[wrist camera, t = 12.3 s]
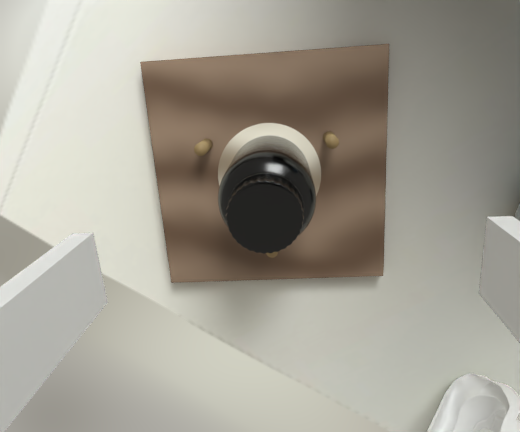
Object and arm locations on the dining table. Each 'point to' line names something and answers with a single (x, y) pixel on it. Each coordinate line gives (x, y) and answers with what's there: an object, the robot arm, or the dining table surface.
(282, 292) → the dining table surface
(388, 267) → the dining table surface
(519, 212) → the ceramic mug
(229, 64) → the pin board
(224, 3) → the dining table surface
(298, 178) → the supplement bottle
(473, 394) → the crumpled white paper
